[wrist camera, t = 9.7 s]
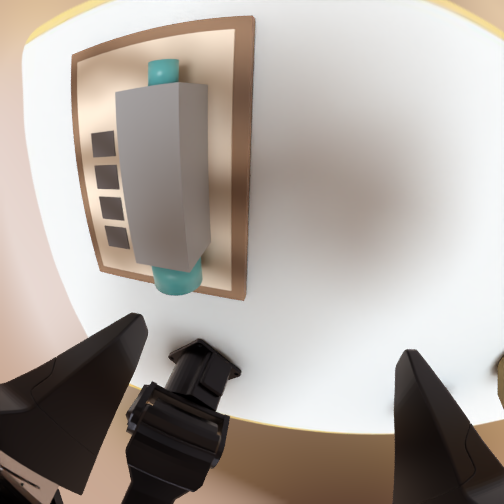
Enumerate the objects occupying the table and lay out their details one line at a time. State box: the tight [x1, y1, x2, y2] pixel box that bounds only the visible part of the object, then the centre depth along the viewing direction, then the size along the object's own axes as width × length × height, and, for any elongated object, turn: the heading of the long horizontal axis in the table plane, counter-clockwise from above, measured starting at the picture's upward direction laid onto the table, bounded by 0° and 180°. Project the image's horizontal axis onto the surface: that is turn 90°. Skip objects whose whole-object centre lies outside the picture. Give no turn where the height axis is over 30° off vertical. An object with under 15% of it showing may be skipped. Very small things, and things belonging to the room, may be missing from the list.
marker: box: [115, 59, 211, 295], centre depth 16 cm, size 15×4×4 cm, turn 178°
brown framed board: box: [71, 16, 255, 301], centre depth 19 cm, size 21×15×1 cm
